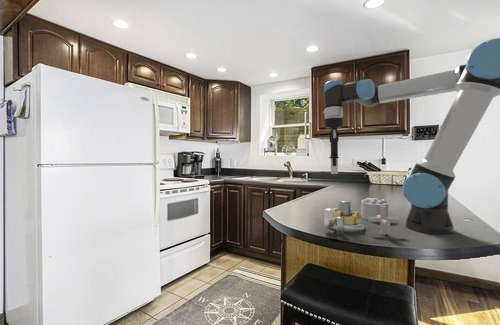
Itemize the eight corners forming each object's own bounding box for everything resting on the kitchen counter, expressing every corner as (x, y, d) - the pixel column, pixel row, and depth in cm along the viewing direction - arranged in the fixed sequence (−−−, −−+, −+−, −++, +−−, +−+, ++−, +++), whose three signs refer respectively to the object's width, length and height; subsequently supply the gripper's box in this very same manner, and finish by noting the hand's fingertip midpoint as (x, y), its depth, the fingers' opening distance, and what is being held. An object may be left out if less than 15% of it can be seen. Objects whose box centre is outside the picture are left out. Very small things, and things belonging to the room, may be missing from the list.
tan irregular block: (339, 216, 108) (339, 202, 108) (364, 221, 100) (364, 206, 100) (313, 223, 96) (314, 207, 96) (340, 229, 88) (340, 212, 88)
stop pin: (343, 233, 92) (343, 216, 92) (343, 235, 90) (343, 218, 89) (336, 232, 93) (336, 216, 93) (336, 234, 90) (336, 217, 90)
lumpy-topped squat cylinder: (382, 215, 121) (382, 197, 121) (392, 222, 108) (392, 202, 108) (359, 214, 123) (359, 196, 123) (366, 221, 110) (366, 201, 110)
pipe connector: (403, 239, 85) (404, 209, 85) (371, 237, 87) (371, 208, 87) (393, 231, 95) (393, 204, 95) (364, 229, 97) (364, 203, 97)
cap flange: (363, 224, 105) (363, 200, 104) (364, 233, 92) (364, 205, 91) (327, 221, 110) (328, 197, 110) (324, 229, 97) (324, 203, 97)
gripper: (324, 121, 116) (324, 173, 116) (324, 116, 103) (325, 174, 103) (341, 120, 114) (342, 173, 114) (344, 115, 101) (345, 174, 101)
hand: (334, 173), depth 109 cm, fingers closed
